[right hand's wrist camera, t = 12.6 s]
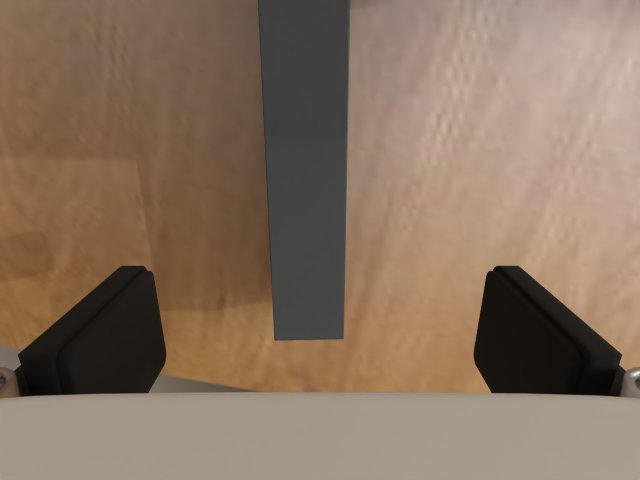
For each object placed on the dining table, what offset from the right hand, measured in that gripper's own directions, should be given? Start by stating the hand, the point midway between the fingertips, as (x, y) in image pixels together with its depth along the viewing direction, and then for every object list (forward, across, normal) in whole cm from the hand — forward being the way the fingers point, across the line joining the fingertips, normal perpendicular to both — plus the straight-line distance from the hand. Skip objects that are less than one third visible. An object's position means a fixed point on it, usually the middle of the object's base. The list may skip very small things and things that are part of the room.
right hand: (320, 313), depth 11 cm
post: (+18, +1, -30) cm, 34 cm away
